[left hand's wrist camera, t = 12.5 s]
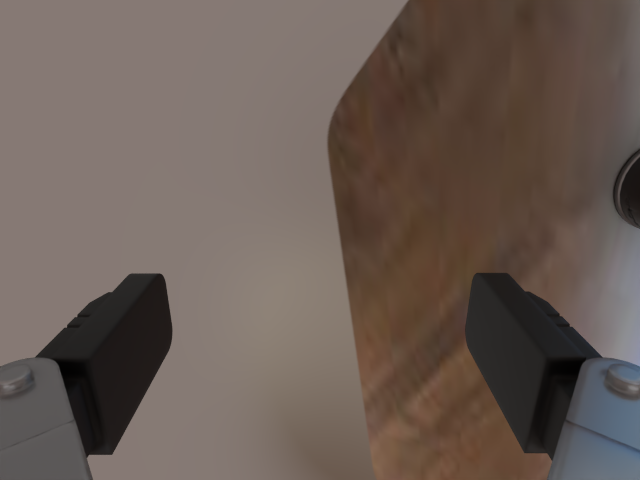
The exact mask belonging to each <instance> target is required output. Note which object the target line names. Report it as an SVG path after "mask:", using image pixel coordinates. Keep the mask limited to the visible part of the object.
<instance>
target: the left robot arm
mask: <svg viewBox="0 0 640 480" xmlns="http://www.w3.org/2000/svg"><path fill="white" fill-rule="evenodd" d="M614 199H615V205H616V208H617V211H618V213H619V214H620V216H621V217H622V218H623V219H624V220H625V221H626V222H628V223H629V224H631V225H633V226H635V227H637V228H639V229H640V150H639V151H638V152H637V153H636V154H635V155H634V156H633V157H632V158H631V159H630V160H629V161H628V162H627V163H626V165H625V166H624V168H623V169H622V171H621V173H620V175H619V177H618V179H617V182H616V186H615V192H614ZM465 332H466V341H467V346H468V349H469V351H470V353H471V355H472V356H473V358H474V360H475V362H476V364H477V366H478V368H479V369H480V371H481V373H482V375H483V377H484V379H485V381H486V382H487V384H488V386H489V388H490V390H491V392H492V394H493V395H494V397H495V399H496V401H497V403H498V405H499V407H500V408H501V410H502V412H503V414H504V416H505V418H506V420H507V421H508V423H509V425H510V427H511V429H512V431H513V433H514V434H515V436H516V438H517V440H518V442H519V444H520V446H521V447H522V449H523V451H524V453H548V455H549V457H550V458H551V460H552V465H551V468H550V471H549V475H548V478H547V480H640V366H637V365H635V364H632V363H629V362H626V361H622V360H618V359H613V358H603V357H602V356H601V355H600V354H599V353H598V352H597V351H596V350H595V349H594V348H593V347H592V346H591V345H590V344H589V343H588V342H587V341H586V340H585V339H584V338H583V337H582V336H581V335H580V334H579V333H578V332H577V331H576V330H575V329H574V328H573V327H570V324H569V323H568V322H567V321H566V320H565V319H564V318H563V317H562V316H559V313H558V312H557V311H556V310H555V309H554V308H553V307H552V306H551V305H550V304H549V303H548V302H547V301H545V300H543V299H541V298H540V297H538V296H536V295H534V294H532V293H531V292H525V291H524V290H523V289H522V288H521V287H520V286H519V285H518V284H517V283H516V281H515V280H514V279H513V278H512V277H511V276H510V275H509V274H507V273H476V274H475V275H474V277H473V280H472V286H471V292H470V299H469V306H468V313H467V320H466V329H465ZM171 341H172V322H171V315H170V309H169V302H168V295H167V289H166V282H165V279H164V277H163V275H162V274H129V275H128V276H127V277H126V278H125V279H124V280H123V281H122V282H121V284H120V285H119V286H118V287H117V288H116V289H115V290H114V291H113V292H108V293H106V294H104V295H103V296H101V297H99V298H97V299H95V300H94V301H92V302H90V303H89V304H88V305H87V306H86V307H85V308H84V309H83V310H82V311H81V312H80V313H79V314H78V316H77V317H75V318H74V319H73V320H72V321H71V322H70V323H69V324H68V325H67V328H64V329H63V330H62V331H61V332H60V333H59V334H58V335H57V336H56V337H55V338H54V339H53V340H52V341H51V342H50V343H49V344H48V345H47V346H46V347H45V348H44V349H43V350H42V351H41V352H40V353H39V354H38V355H37V356H36V357H35V358H27V359H22V360H18V361H14V362H11V363H8V364H5V365H3V366H0V480H93V478H92V475H91V471H90V468H89V465H88V461H87V457H88V455H112V454H113V452H114V450H115V448H116V447H117V445H118V443H119V441H120V439H121V437H122V436H123V434H124V432H125V430H126V428H127V426H128V424H129V423H130V421H131V419H132V417H133V415H134V414H135V412H136V410H137V408H138V406H139V404H140V402H141V401H142V399H143V397H144V395H145V393H146V391H147V390H148V388H149V386H150V384H151V382H152V380H153V379H154V377H155V375H156V373H157V371H158V369H159V368H160V366H161V364H162V362H163V360H164V358H165V357H166V355H167V353H168V351H169V349H170V345H171Z"/></svg>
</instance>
